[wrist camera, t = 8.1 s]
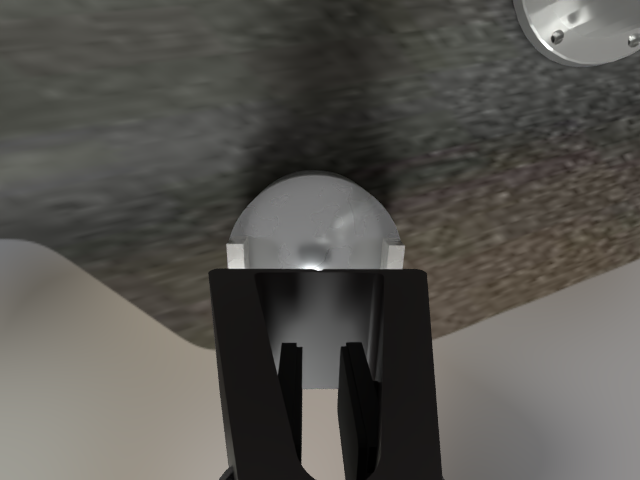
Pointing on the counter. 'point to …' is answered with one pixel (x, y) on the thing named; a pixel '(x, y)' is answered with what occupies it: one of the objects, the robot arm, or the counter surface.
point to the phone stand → (324, 362)
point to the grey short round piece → (314, 227)
